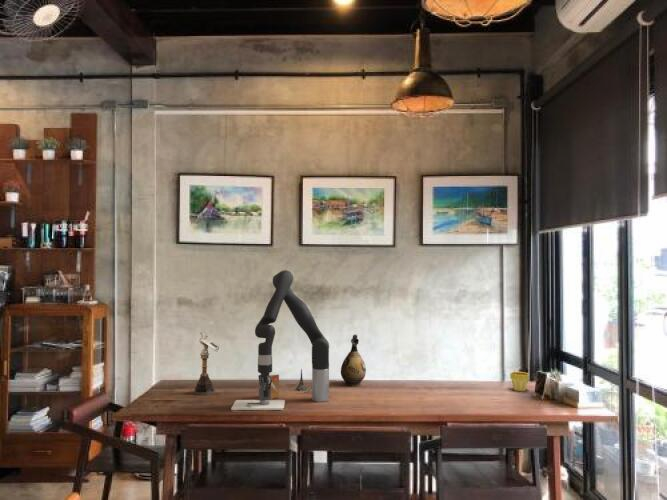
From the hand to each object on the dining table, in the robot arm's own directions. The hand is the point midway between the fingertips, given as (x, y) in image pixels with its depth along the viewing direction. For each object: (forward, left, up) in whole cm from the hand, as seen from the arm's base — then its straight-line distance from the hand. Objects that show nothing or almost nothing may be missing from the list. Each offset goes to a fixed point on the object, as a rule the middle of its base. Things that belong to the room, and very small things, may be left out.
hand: (264, 396), depth 290 cm
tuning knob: (+3, +1, -4) cm, 5 cm away
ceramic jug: (-49, -51, -6) cm, 71 cm away
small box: (-1, -19, -6) cm, 20 cm away
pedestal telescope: (+35, -31, -6) cm, 47 cm away
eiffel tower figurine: (-18, -37, -6) cm, 41 cm away
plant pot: (-146, -35, -6) cm, 150 cm away
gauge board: (+3, 0, -6) cm, 6 cm away
